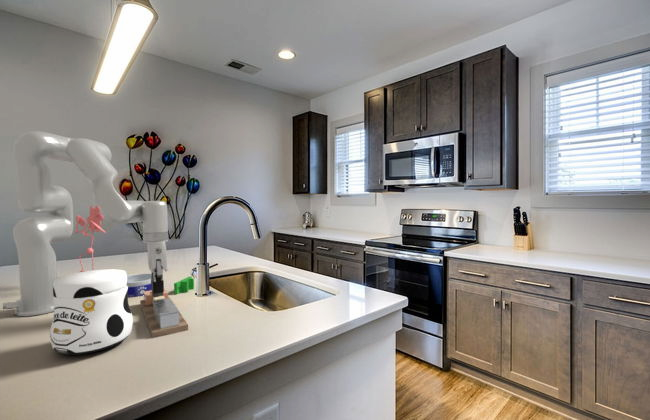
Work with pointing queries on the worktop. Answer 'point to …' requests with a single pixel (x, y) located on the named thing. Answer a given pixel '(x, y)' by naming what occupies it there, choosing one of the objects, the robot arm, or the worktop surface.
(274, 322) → the worktop surface
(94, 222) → the figurine
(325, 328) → the worktop surface
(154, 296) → the bar
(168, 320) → the grey concrete brick
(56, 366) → the worktop surface
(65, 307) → the milk container
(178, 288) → the pipe clamp
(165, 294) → the socket
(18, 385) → the worktop surface
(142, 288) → the dog bowl
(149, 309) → the board
